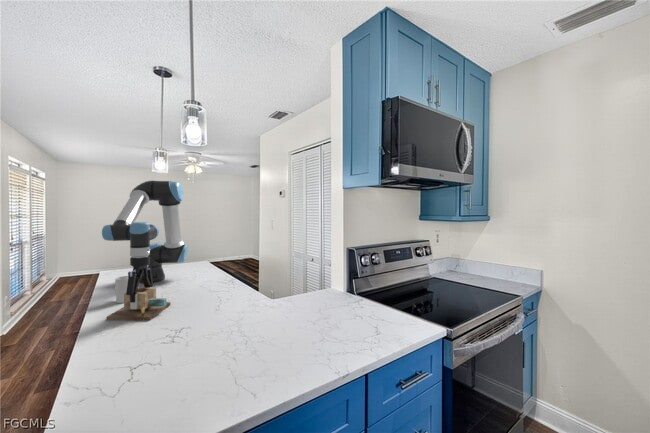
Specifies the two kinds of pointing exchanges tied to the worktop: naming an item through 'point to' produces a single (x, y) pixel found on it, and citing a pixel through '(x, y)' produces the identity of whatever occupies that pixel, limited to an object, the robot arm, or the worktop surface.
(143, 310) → the dowel
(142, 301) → the hollow wooden frame
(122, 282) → the mug
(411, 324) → the worktop surface
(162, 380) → the worktop surface
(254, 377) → the worktop surface
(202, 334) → the worktop surface
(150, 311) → the base board
